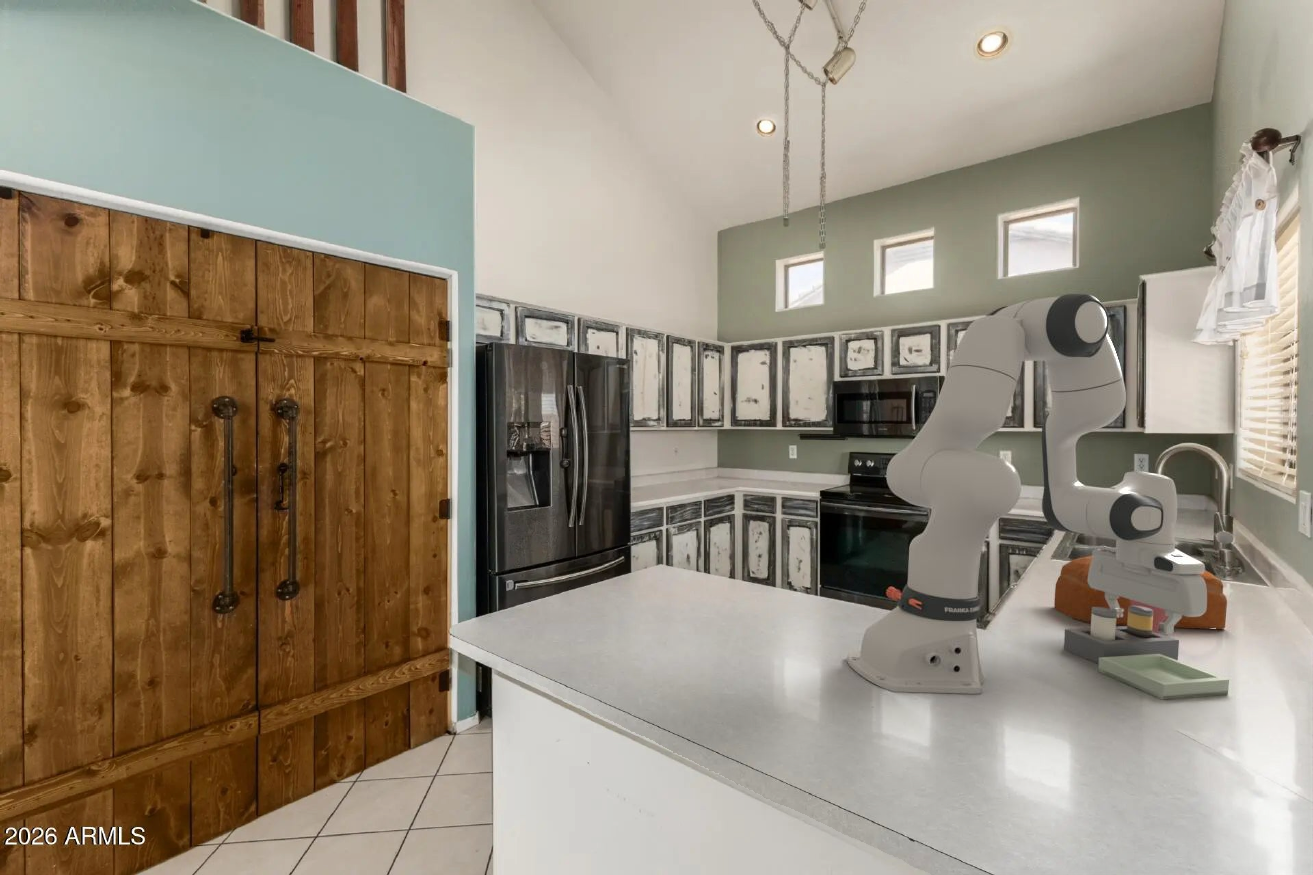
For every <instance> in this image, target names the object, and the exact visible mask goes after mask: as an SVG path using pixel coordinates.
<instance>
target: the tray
mask: <svg viewBox="0 0 1313 875" xmlns="http://www.w3.org/2000/svg"><path fill="white" fill-rule="evenodd" d="M1097 666H1098V667H1097V672H1099V673H1101V674H1104V675H1106V676H1108V677H1110V678H1112V679H1114V680H1117V681H1119V682H1122V683H1124V684H1126V685H1128V686H1131V687H1133V688H1135V689H1137V690H1140V691H1142V692H1144V693H1147V694H1149V695H1151V696H1153V697H1154V698H1158V699H1160V700H1162V701H1167V699H1168V700H1178V699H1187V698H1188V699H1189V698H1191V699H1192V698H1201V697H1212V696H1213V697H1214V696H1224V695H1229V686H1230V685H1229V684H1230V679H1229V678H1226V677H1223V676H1221V675H1217V674H1216V673H1215V674H1214V673H1213V672H1210V671H1207V670H1204V669H1201V668H1199V667H1196V666H1193V665H1190V664H1188V663H1185V662H1182V661H1180V660H1179V659H1178V660H1175V659H1172V658H1169V657H1167V656H1164V655H1161V654H1147V655H1131V656H1116V657H1100V658H1099V664H1098V663H1097Z"/></svg>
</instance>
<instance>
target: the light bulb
mask: <svg viewBox="0 0 1313 875" xmlns="http://www.w3.org/2000/svg"><path fill="white" fill-rule="evenodd" d="M1129 601H1130V604H1131V605H1134V606H1142V607H1146V608H1150V609H1152V610H1153V625H1152V631H1154V632H1157V633H1160V632H1159V631H1158V628H1159V623H1163V622H1164V620H1165V619H1166V618H1167V617H1168V616H1166V615H1165V610H1164V609H1160V608H1157V607H1154V606H1150V605H1147V604H1143V603H1140V602H1137V601H1133V600H1130V599H1129Z"/></svg>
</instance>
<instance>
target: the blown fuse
mask: <svg viewBox="0 0 1313 875" xmlns="http://www.w3.org/2000/svg"><path fill="white" fill-rule="evenodd" d="M1152 625H1153V610H1152V609H1150V608H1146V607H1142V606H1134V605H1130V606H1128V620H1127V625H1126V626H1127V633H1128V634H1131V635H1133V636H1136V637H1139V638H1142V639H1146V638H1152Z"/></svg>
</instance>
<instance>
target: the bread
mask: <svg viewBox="0 0 1313 875" xmlns="http://www.w3.org/2000/svg"><path fill="white" fill-rule="evenodd" d="M1091 561H1092V555H1089V556H1085V557H1078V558H1076V559H1073V560H1071V561H1069V562H1068V563H1065V564H1064V565H1062V567H1061V569H1060V575H1059V576H1058V578H1057V579H1056V582H1055V586H1054V587H1055V588H1054V602H1053V603H1054V606H1053V607H1054V609H1055V610H1056V611H1058V612H1059V613H1061V614H1063V615H1065V616H1067V617H1068V616H1069V617H1070V618H1073V619H1075V620H1077V621H1080V622H1084V623H1087V624H1088V623H1089V624H1091V617H1092V607H1103V608H1108V609H1110V607H1109V605H1108V603H1107V601H1106V599H1105V592H1103V591H1100V590H1097V589H1093V588H1091V587H1090V585H1089V584H1088V573H1089V568H1090V564H1091ZM1198 575H1200V576H1201V577H1202V578H1203V579H1204V581H1205V583H1206V588H1207V609H1206V612H1205V613H1204V614H1203V615H1201V616H1198V617H1187V616H1184V615H1182V618H1181V619H1180V620H1179V621H1178V622H1177V623H1176V624H1175V625H1174V629H1175V628H1177V629H1178V628H1180V629H1194V628H1216V629H1215V630H1217V629H1222V630H1224V629H1225V628H1226V622H1227V620H1226V619H1227V608H1228V600H1227V599H1228V598H1227V596H1226V595H1225V593H1224V584H1223V581H1222V580H1221V579H1220V578H1218V577H1216V576H1215V575H1214V574H1213V573H1211V572H1209V571H1207V570H1206V569H1205V572H1204V573H1203V574H1198ZM1117 601H1118V604H1119V606H1120V608H1123V609H1124V612H1123V617H1121V618H1120V617H1119V618H1117V617H1116V626H1127V620H1128V606H1130V605H1131V604H1130V601H1129V599H1127V598H1123V597H1120V596H1119V599H1117ZM1168 617H1169V616H1168ZM1168 617H1167V618H1168ZM1167 618H1166V619H1165V620H1164V622H1165V621H1166V620H1167Z"/></svg>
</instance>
